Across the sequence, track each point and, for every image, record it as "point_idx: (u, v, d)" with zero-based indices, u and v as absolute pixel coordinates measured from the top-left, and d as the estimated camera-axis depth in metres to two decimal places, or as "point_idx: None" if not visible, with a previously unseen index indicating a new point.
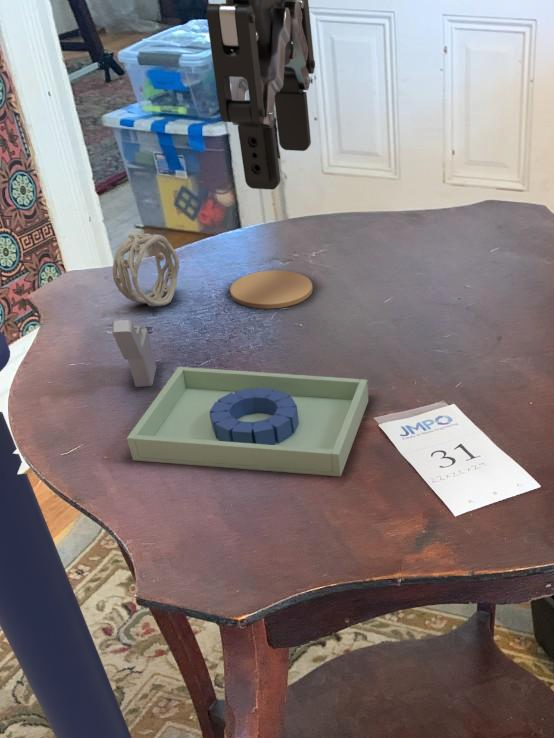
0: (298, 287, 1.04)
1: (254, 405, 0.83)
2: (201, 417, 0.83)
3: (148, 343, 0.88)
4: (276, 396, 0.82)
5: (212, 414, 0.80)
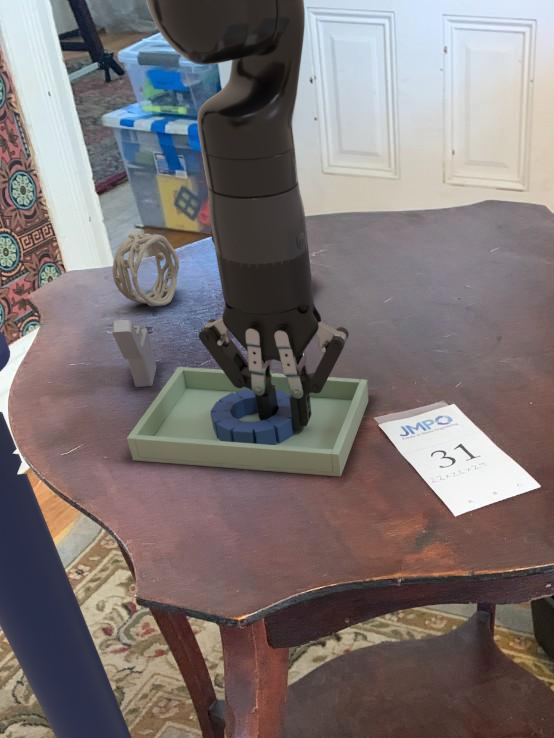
0: None
1: (255, 405, 0.83)
2: (201, 417, 0.83)
3: (148, 343, 0.88)
4: (277, 396, 0.82)
5: (213, 414, 0.80)
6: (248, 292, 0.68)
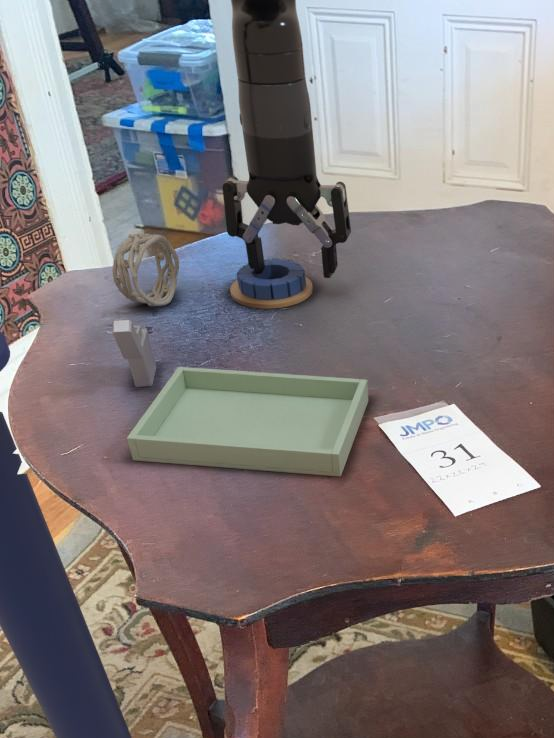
0: None
1: (270, 271, 1.06)
2: (201, 417, 0.83)
3: (148, 343, 0.88)
4: (288, 264, 1.05)
5: (239, 274, 1.03)
6: (267, 161, 0.91)
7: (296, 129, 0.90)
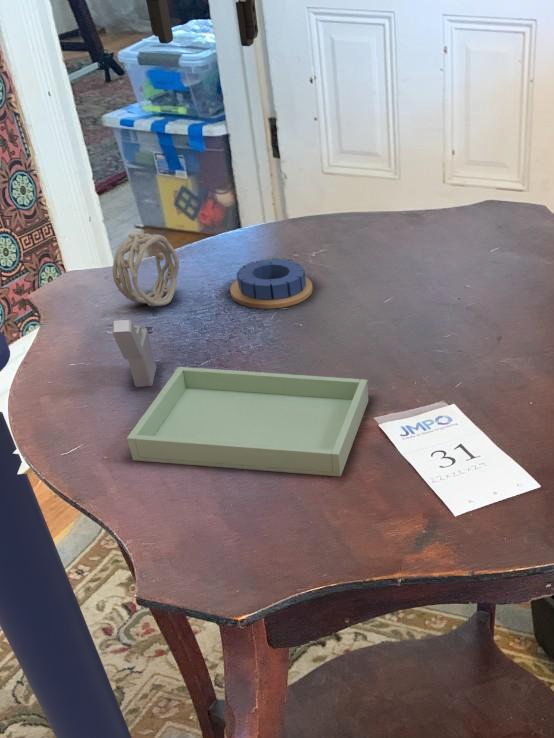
0: None
1: (270, 271, 1.06)
2: (201, 417, 0.83)
3: (148, 343, 0.88)
4: (288, 264, 1.05)
5: (239, 274, 1.03)
6: None
7: None
